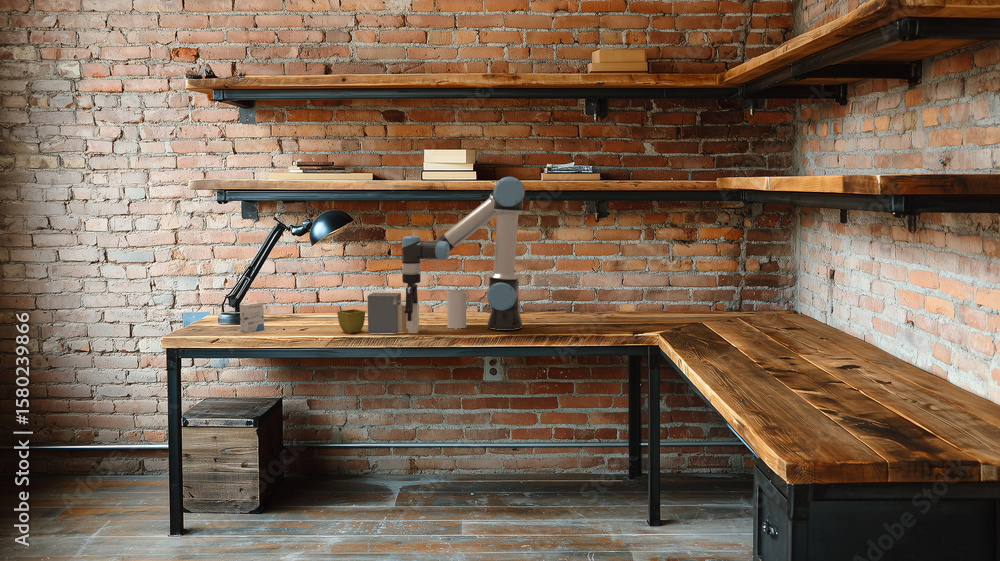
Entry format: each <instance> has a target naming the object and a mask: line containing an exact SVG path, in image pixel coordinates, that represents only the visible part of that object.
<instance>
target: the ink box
mask: <svg viewBox="0 0 1000 561" xmlns="http://www.w3.org/2000/svg"><path fill="white" fill-rule="evenodd" d="M239 318H240V320H239V321H240V323H239V324H240V332H243V333H252V332H257V331H264V330H265V319H264V318H265V316H264V303H263V302H259V301H254V302H246V303H239Z"/></svg>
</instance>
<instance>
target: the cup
mask: <svg viewBox="0 0 1000 561" xmlns="http://www.w3.org/2000/svg"><path fill="white" fill-rule="evenodd" d="M446 298H447V299H446V315H447V316H446V317H447V318H446V319H447V320H446V322H447V324H446V326H447V327H448V328H455V329H454V330H458V329H457V328H465V327H466V328H467V291H466V290H462V289H461V290H460V289H451V290H447V291H446ZM448 328H447V329H448ZM466 328H465V329H466Z"/></svg>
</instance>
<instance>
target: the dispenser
mask: <svg viewBox="0 0 1000 561" xmlns="http://www.w3.org/2000/svg"><path fill="white" fill-rule="evenodd" d="M398 303H402V293H401V292H372V293H370V294H368V295H367V331H368V332H367V334H368V333H396V334H395V335H398V334H399V333H398V320H397V304H398ZM397 333H398V334H397Z"/></svg>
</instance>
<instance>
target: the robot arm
mask: <svg viewBox="0 0 1000 561" xmlns="http://www.w3.org/2000/svg"><path fill="white" fill-rule="evenodd" d="M525 194H526V188H525V185H524V184H523V183H522V181H521V180H520V179H519V178H516V177H514V176H505V177H502V178H501V179H499V180H497V182H496V183H495V185H494V187H493V191H492V192H491V193H490V194H489V198H487V199H486V200H485V201H484V202H482V203H481V204H480V205H479V206H477V207H476V208H475V209H473V210H472V211H471V212H470V213H469V214H467V215H466V216H465V217H463V218H462V219H461V220H459V221H458V222H457V223H456V224H454V225H453V226H452V227H450V229H449V230H447V231H446V232H445V233H443V234H441V236H439V237H438V238H437V239H436V240H421V237H420V236H417V235H415V236H414V235H406V236H404V237H402V238H401V239H402V240H401V243H402V244H401V257H402V259H401V260H402V261H401V262H402V265H400V267H401V268H402V271H401V272H402V274H401V276H402V280H401V281H402V283H403V284H407V287H405V303H406V308H405V311H404V313H406V324H407V329H413V313H412V312H413V303H419V300H418V284H419V283H421V282H422V281H421V280H422V279H421V278H422V277H421V271H422V269H421V265H422V264H421V260H439V261H441V260H448V259H449V256H450V252H451V251H452V250H454V249H455V248H456V247H457V246H459V245H460V244H461V243H463V242H464V241H465V240H466V239H468V238H469V237H471V236H472V235H473V234H474V233H475V232H477V231H478V230H479V229H480V228H482V227H484V225H486V224H487V223H489V221H490V220H492V219H493V218H495V216H496V229H495V243H494V244H495V246H494V260H493V272H492V273H491V274H489V279H488V280H489V281H488V290H487V292H486V298H487V302H488V304H489V306H491V312H490V315H489V318H488V321H487V328H488V327H490V328H495V329H515V328H520V327H522V328H523V320H522V317H521V314H520V312H519V290H520V289H519V286H520V281H519V276H517V275H516V274H515V271H516V270H515V268H516V253H517V240H518V239H517V238H518V226H519V224H518V223H519V215H520V214H522V213H523V207H524V206H523V205H524V197H525Z"/></svg>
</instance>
